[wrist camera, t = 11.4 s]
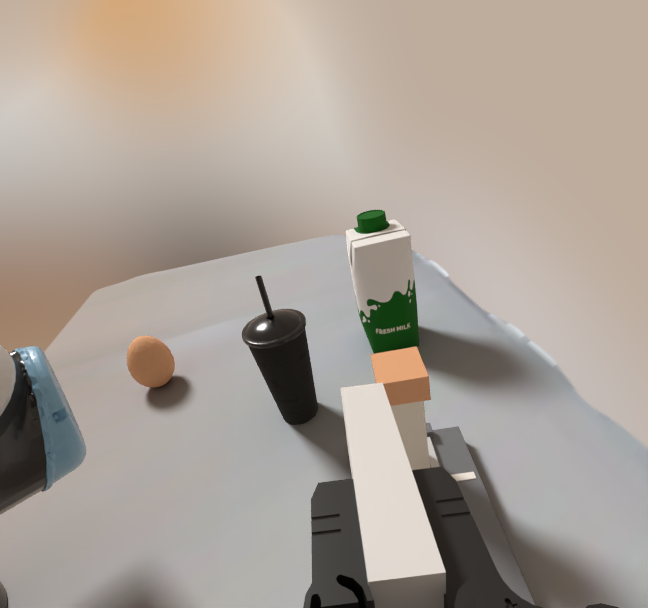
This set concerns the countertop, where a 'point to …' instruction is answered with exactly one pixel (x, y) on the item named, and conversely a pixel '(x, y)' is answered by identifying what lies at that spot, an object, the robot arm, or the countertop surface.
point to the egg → (150, 361)
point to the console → (476, 502)
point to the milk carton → (383, 281)
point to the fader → (406, 398)
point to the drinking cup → (283, 359)
